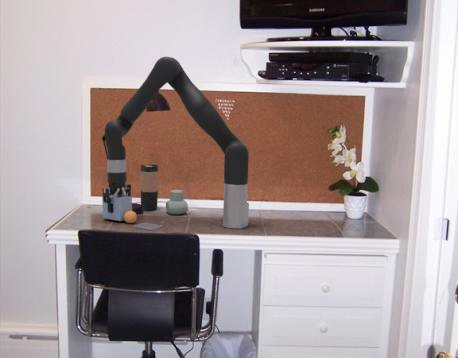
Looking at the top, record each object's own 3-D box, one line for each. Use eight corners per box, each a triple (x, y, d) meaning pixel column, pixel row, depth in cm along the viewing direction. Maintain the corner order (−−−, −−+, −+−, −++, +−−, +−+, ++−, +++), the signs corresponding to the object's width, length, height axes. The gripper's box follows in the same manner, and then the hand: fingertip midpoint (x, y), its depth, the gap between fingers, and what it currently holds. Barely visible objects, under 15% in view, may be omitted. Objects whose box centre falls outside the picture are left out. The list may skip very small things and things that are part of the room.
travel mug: (154, 212, 224) (154, 166, 221) (137, 210, 226) (138, 165, 223) (160, 208, 231) (160, 164, 228) (144, 207, 233) (144, 164, 230)
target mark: (164, 226, 199) (164, 226, 199) (151, 230, 192) (151, 230, 192) (144, 222, 204) (144, 222, 204) (131, 226, 197) (131, 226, 197)
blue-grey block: (132, 218, 207) (131, 196, 206) (120, 221, 201) (120, 199, 200) (114, 215, 212) (114, 194, 211) (102, 217, 206) (102, 196, 205)
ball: (132, 223, 205) (141, 219, 203) (124, 226, 201) (132, 222, 198) (128, 212, 206) (136, 207, 203) (119, 214, 202) (127, 210, 199)
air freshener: (164, 211, 227) (165, 189, 225) (183, 210, 229) (183, 188, 228) (169, 216, 217) (170, 193, 215) (188, 215, 219) (189, 192, 218)
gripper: (110, 173, 196) (111, 215, 198) (136, 169, 208) (136, 209, 210) (96, 171, 200) (97, 213, 202) (122, 168, 212) (123, 207, 214)
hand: (117, 211), depth 206 cm, fingers closed on blue-grey block, 6 cm apart
